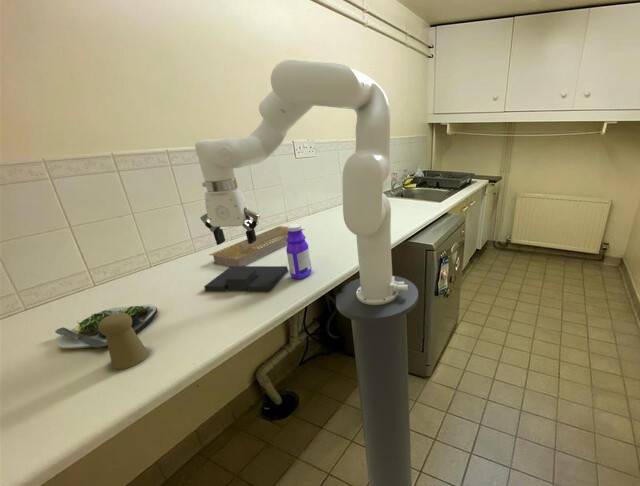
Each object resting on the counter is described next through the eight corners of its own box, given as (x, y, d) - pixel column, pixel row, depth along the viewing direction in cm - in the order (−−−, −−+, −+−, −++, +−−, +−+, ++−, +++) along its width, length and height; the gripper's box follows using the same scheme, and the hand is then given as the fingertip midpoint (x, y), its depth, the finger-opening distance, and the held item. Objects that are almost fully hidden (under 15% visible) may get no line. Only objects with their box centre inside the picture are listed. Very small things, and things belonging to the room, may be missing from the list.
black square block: (257, 281, 101) (255, 270, 99) (247, 290, 95) (244, 279, 94) (239, 281, 101) (237, 270, 99) (228, 290, 95) (225, 279, 94)
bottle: (301, 269, 108) (293, 221, 102) (315, 271, 106) (308, 223, 100) (287, 278, 102) (278, 228, 95) (302, 281, 100) (293, 230, 94)
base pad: (288, 270, 107) (287, 266, 107) (268, 291, 94) (267, 286, 94) (232, 270, 108) (231, 266, 108) (205, 291, 95) (204, 286, 95)
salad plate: (25, 359, 69) (14, 342, 67) (93, 313, 85) (86, 298, 84) (118, 352, 70) (111, 335, 69) (167, 308, 87) (162, 293, 85)
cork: (151, 346, 72) (134, 305, 68) (145, 363, 67) (127, 320, 63) (117, 355, 69) (98, 313, 65) (108, 373, 64) (87, 329, 60)
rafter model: (239, 269, 109) (235, 253, 107) (211, 263, 114) (206, 248, 112) (305, 236, 139) (303, 223, 137) (281, 233, 144) (278, 220, 142)
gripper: (182, 189, 84) (200, 248, 90) (244, 187, 83) (258, 246, 89) (201, 184, 91) (217, 238, 97) (258, 182, 90) (270, 237, 96)
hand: (236, 242), depth 93 cm, fingers open, 9 cm apart
